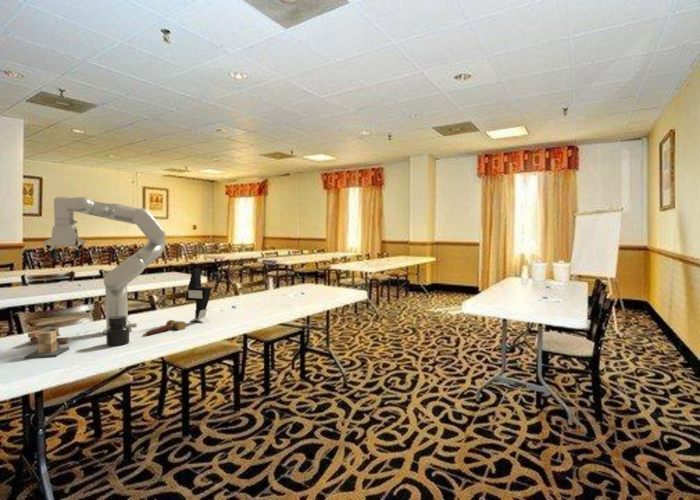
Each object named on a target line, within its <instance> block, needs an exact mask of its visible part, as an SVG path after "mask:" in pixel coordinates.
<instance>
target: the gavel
mask: <svg viewBox="0 0 700 500" xmlns="http://www.w3.org/2000/svg"><path fill="white" fill-rule="evenodd" d="M186 327H187V324H186V322H185V321H180V320H179V321H178V320H177V321H176V320H173V319H169V320H167V321H166V323H165V325H164V326H161V327H158V328H155V329H151V330H148V331H146V332H144V333H143V334H142V335H141V336H142V337H150V336H153V335H156V334H157V335H158V334H160V333H163V332H167V331H169V330H172V329H173V330H174V329H175V330H177V331H183V330H185V329H186Z"/></svg>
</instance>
